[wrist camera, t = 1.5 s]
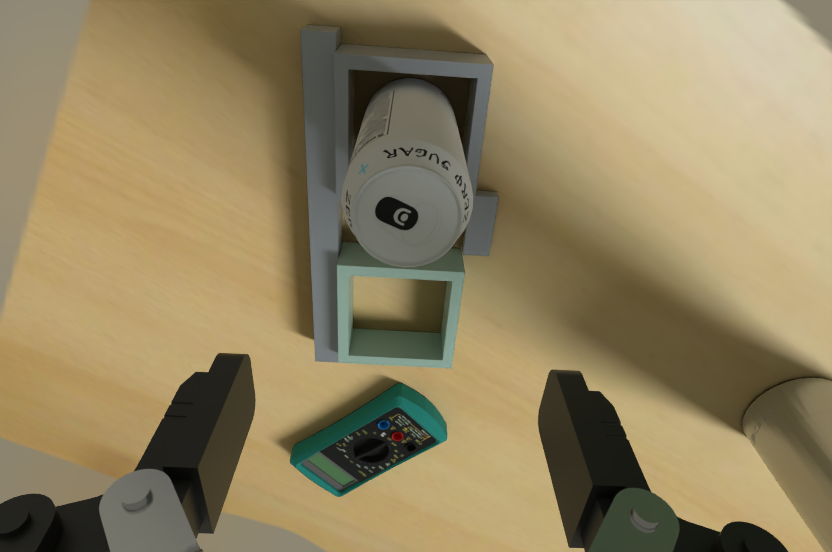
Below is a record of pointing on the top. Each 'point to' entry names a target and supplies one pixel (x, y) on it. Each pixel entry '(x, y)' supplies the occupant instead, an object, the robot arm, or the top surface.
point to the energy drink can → (408, 176)
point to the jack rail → (326, 171)
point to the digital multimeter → (370, 440)
